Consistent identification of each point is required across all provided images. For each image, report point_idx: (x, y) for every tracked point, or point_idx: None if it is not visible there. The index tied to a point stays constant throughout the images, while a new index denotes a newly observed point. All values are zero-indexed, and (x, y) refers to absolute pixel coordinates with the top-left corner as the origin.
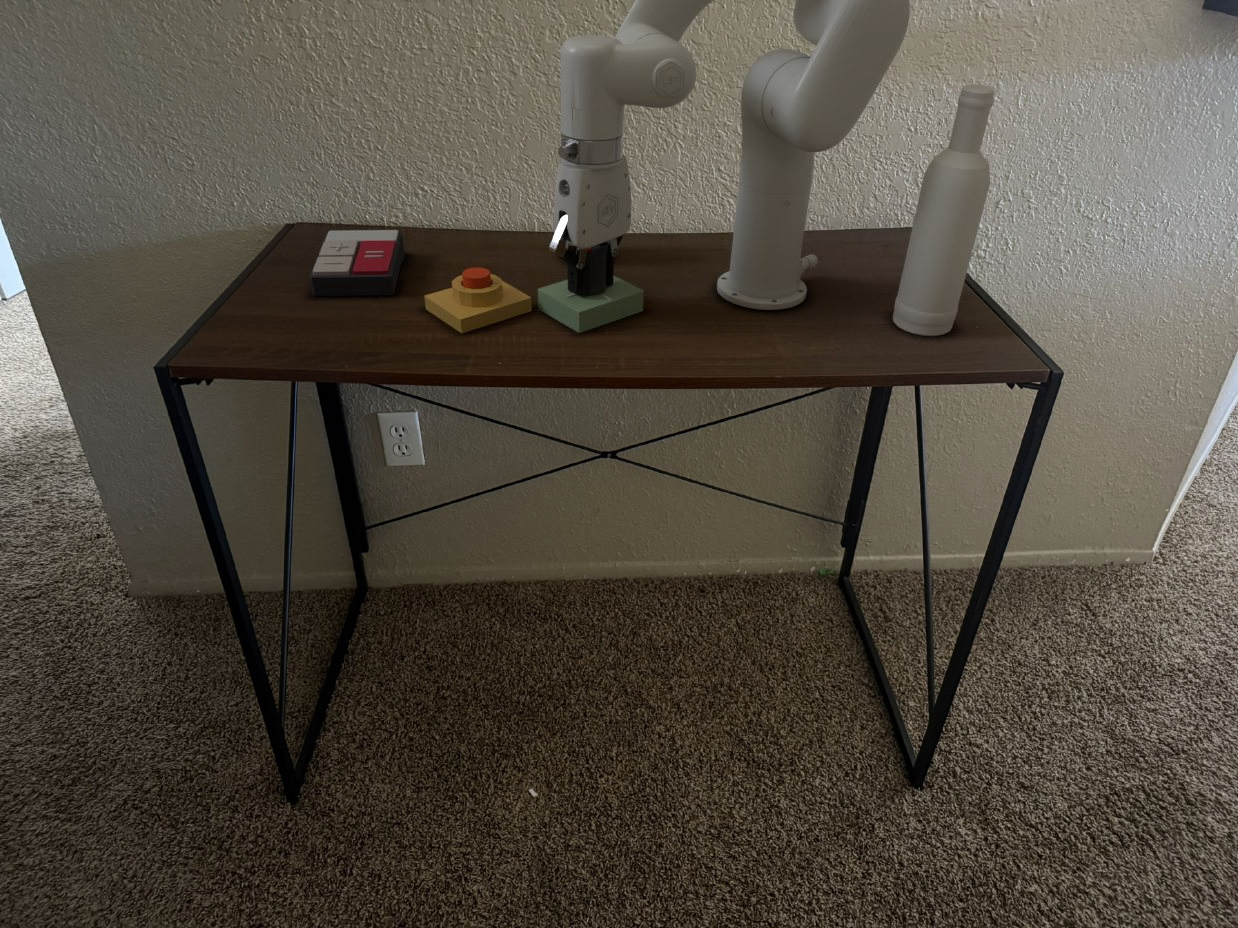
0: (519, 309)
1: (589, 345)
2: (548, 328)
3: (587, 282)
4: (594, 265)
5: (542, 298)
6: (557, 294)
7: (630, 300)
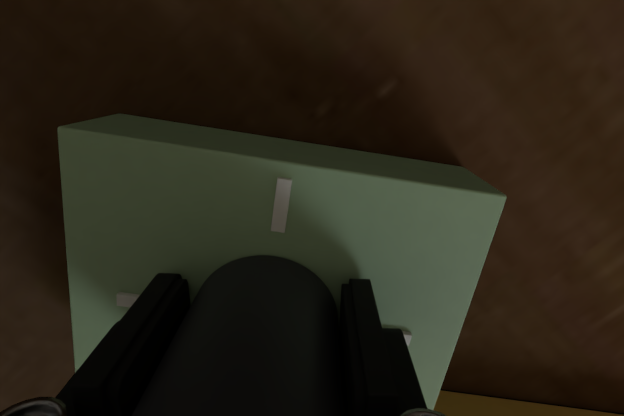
0: (480, 411)
1: (528, 61)
2: (495, 274)
3: (360, 321)
4: (301, 391)
5: None
6: None
7: (168, 136)
